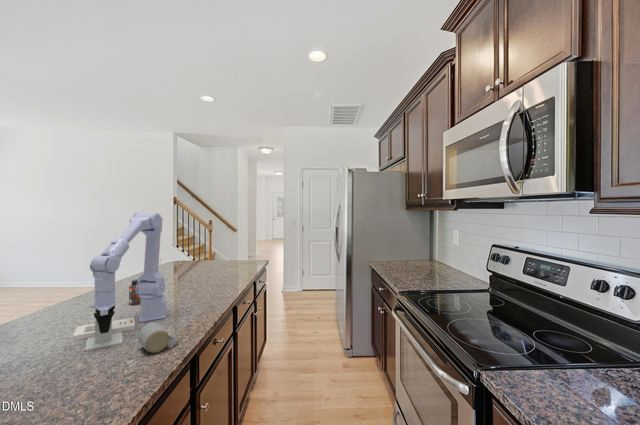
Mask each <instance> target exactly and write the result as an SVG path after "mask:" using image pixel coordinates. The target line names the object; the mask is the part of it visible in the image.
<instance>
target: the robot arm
mask: <svg viewBox="0 0 640 425" xmlns="http://www.w3.org/2000/svg"><path fill="white" fill-rule="evenodd" d="M162 232H163V217H162V216H161V215H160V214H159V213H158V212H149V213H148V212H147V213H146V212H145V213H144V212H134V213H133V214H132V215H131V217H130V218H129V225H128V226H127V227H126V229H125V230H124V231H123V233H122V234H121V236H120V237H119V238H114V239H113V240H112V241H111V242H110V244H109V245H108V246H107V247H106V248H105V249H104V251H103V252H101V254H100V255H97V256H95V257H94V258H92V260H91V263H90V264H89V269H90V271H91V272H92V277H93V278H94V304H90V305H89V309H94V311H95V312H94V313H93V317H94V318H95V321H96V320H97V322H98V325H99V330H100V333H101V334H102V333H108V331H109V328H110V322H111V319H112V320H113V316H114V315H115V312H116V311H115V308H116V303H117V302H116V272H117V270H119V268H120V265H121V262H122V259H123V256H125V254H126V253H127V252H128V250H129V249H130V244H129V243H131V242H132V240H134V238H135V237H136V236H137V235H138V234H139V233H142V234H144V235H145V250H144V251H145V252H144V262H143V263H144V265H143V274H141V275H140V276H139V277H138V278H137V279H138V282H137V285H136V293H137V295H139V298H141V304H140V315H139V316H138V318H139V322H140V323H143V322H149V321H154V320H161V319H165V318H167V297H166V294H164V292H165V291H166V283H165V277H164V276H163V275H161V274H160V273H159V264H160V251H161V250H160V249H161V248H160V247H161V233H162Z"/></svg>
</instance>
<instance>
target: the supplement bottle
mask: <svg viewBox="0 0 640 425" xmlns="http://www.w3.org/2000/svg"><path fill="white" fill-rule="evenodd" d="M137 282H138V278H137V279H132V280H131V284H130V285H129V286H128V287H129V291H128V292H129V293H128V304H129V305H130V306H137V304H138V305H141V298H139V295H137V293H136V285H137Z"/></svg>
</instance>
